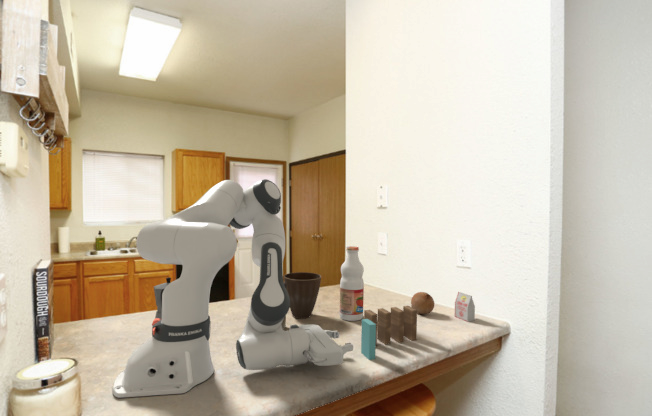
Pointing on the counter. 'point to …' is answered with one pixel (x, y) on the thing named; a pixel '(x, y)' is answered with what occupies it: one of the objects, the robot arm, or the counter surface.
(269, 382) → the counter surface
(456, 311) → the tea bag
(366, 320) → the teal domino tile
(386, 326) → the domino
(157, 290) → the coffeepot
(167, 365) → the robot arm
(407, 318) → the domino
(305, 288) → the plant pot
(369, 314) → the domino
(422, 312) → the onion
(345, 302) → the fruit juice
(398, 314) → the domino
